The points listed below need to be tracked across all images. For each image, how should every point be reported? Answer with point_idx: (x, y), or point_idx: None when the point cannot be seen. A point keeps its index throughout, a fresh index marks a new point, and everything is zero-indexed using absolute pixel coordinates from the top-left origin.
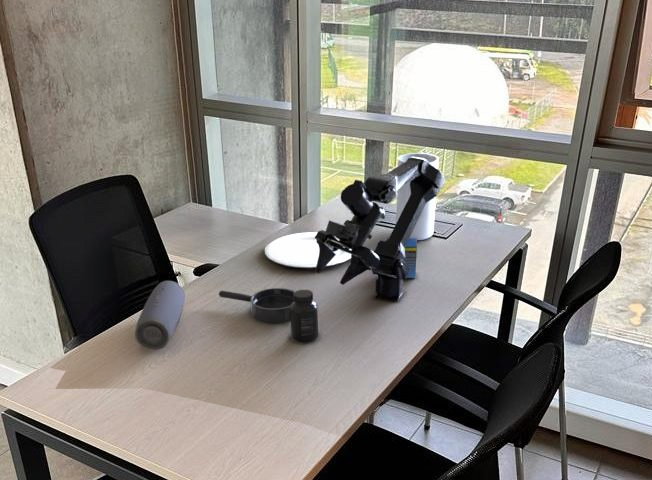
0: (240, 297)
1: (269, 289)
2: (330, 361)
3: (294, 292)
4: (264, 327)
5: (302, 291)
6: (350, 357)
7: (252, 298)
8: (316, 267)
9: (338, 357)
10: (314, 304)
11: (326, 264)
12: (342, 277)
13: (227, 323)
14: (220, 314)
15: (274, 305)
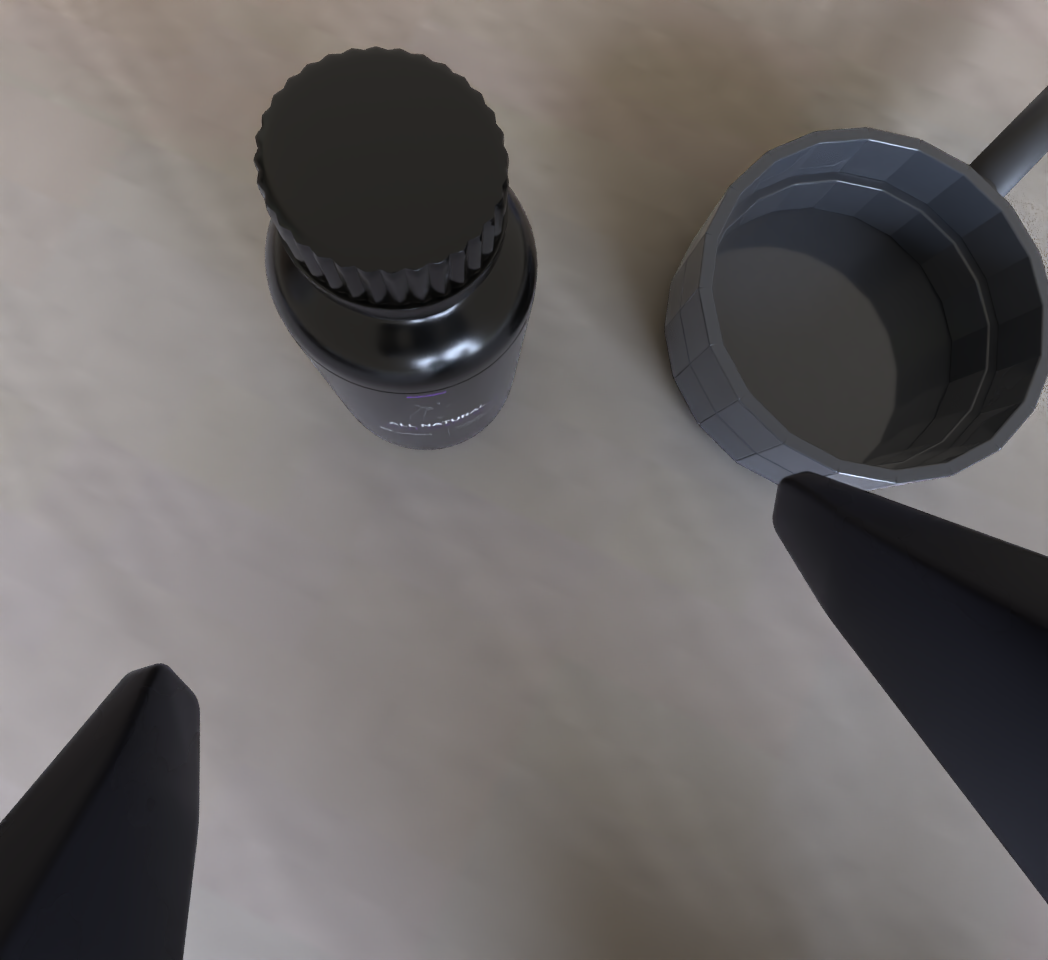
0: (1006, 131)
1: (1041, 320)
2: (62, 379)
3: (468, 86)
4: (655, 210)
5: (446, 176)
6: (35, 514)
7: (936, 158)
8: (862, 495)
9: (79, 445)
10: (326, 325)
11: (930, 737)
12: (104, 754)
13: (786, 55)
14: (907, 62)
15: (891, 356)
